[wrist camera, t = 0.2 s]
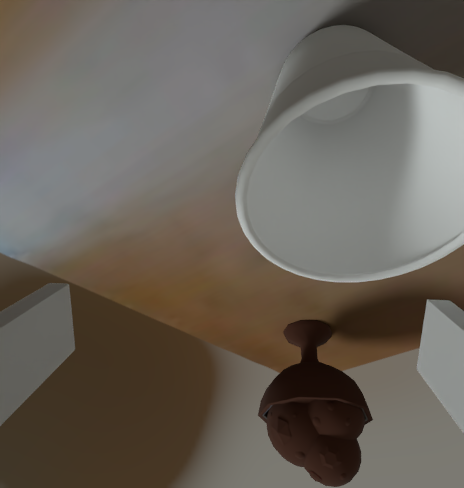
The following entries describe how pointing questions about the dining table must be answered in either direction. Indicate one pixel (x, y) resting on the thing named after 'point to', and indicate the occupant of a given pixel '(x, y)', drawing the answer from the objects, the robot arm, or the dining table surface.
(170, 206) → the dining table surface
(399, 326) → the dining table surface
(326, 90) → the cup
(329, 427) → the ice cream bowl
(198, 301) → the dining table surface
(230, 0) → the dining table surface
